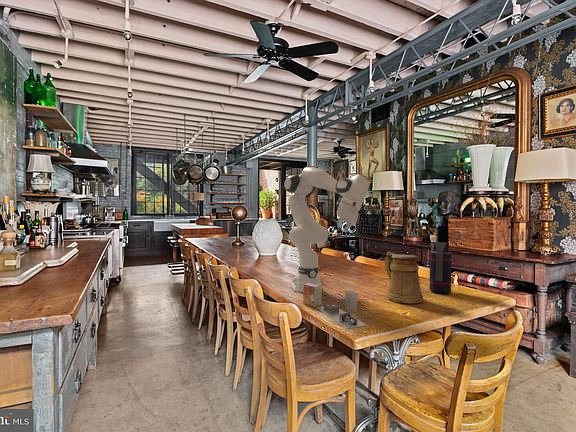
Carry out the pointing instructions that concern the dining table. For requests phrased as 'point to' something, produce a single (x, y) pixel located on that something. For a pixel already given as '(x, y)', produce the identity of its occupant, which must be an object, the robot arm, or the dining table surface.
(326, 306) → the grey long flat board
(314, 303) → the small box
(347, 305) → the mini drawer chest
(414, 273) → the tankard
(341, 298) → the dining table surface
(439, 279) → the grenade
